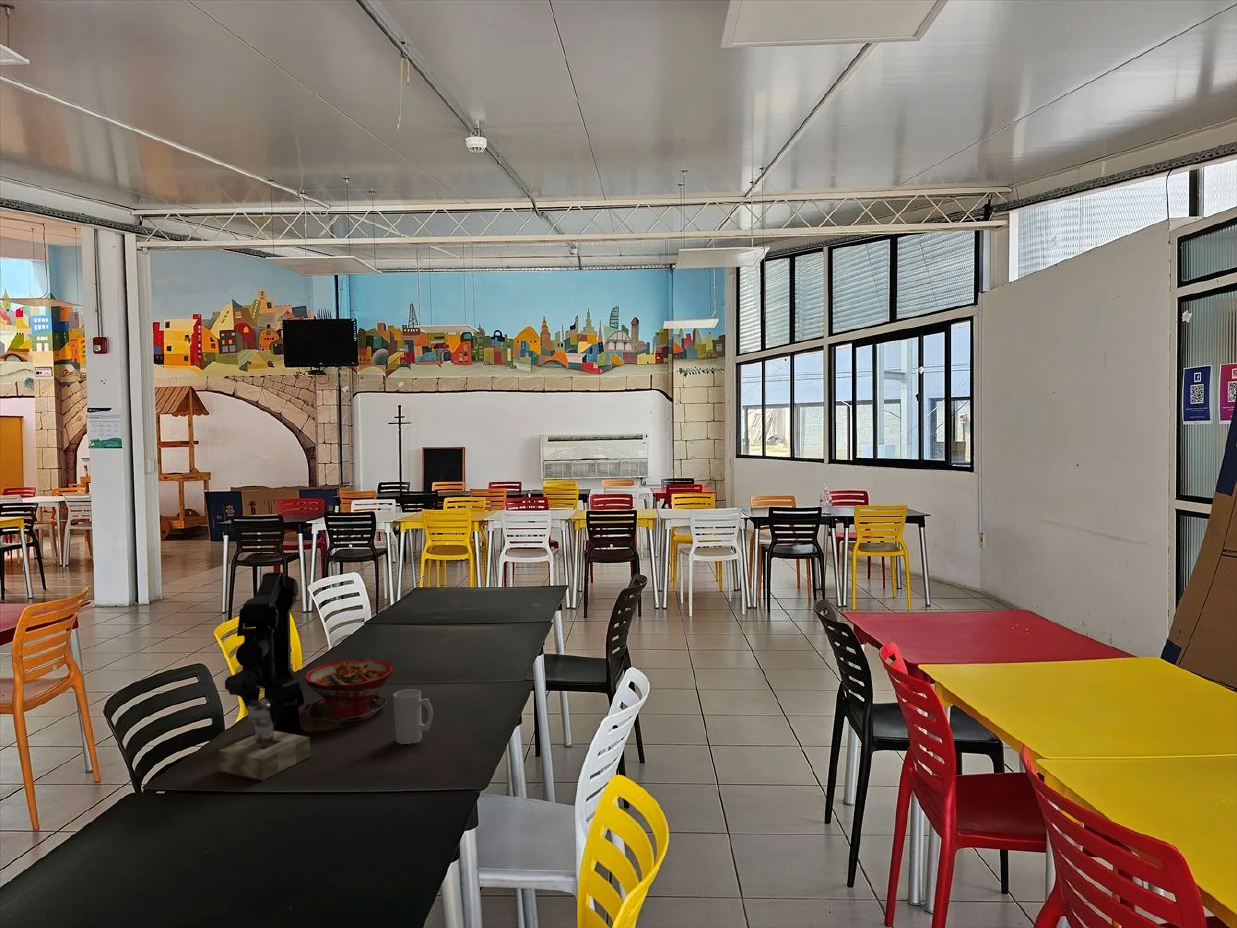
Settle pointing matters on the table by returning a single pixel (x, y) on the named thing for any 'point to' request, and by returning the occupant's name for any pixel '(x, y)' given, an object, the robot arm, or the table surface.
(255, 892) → the table surface
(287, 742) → the hitch block
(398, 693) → the mug
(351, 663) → the stew
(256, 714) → the pin
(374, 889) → the table surface
